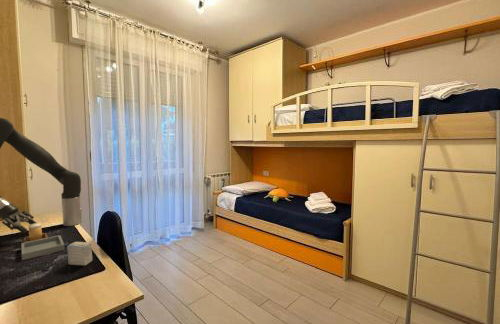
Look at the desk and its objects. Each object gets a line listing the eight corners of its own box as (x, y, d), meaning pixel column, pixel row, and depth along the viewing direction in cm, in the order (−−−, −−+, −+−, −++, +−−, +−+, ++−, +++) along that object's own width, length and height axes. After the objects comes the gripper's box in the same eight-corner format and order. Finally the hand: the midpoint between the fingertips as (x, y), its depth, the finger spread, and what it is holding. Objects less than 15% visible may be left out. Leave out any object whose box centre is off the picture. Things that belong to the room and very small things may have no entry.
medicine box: (92, 260, 107) (91, 242, 106) (84, 266, 103) (83, 246, 102) (76, 259, 108) (75, 241, 107) (68, 264, 104) (66, 245, 103)
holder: (46, 236, 132) (46, 232, 132) (48, 241, 126) (47, 237, 126) (24, 241, 126) (23, 237, 126) (24, 246, 119) (24, 243, 119)
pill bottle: (42, 238, 129) (40, 222, 129) (42, 241, 126) (41, 224, 125) (29, 241, 126) (28, 224, 125) (29, 244, 122) (28, 227, 121)
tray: (60, 240, 128) (60, 235, 128) (64, 249, 117) (64, 244, 117) (21, 248, 117) (21, 243, 117) (22, 260, 107) (21, 254, 106)
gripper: (-3, 207, 114) (28, 228, 118) (18, 199, 128) (45, 219, 132) (-15, 218, 114) (16, 239, 118) (7, 209, 127) (34, 229, 131)
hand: (31, 228), depth 125 cm, fingers open, 8 cm apart
